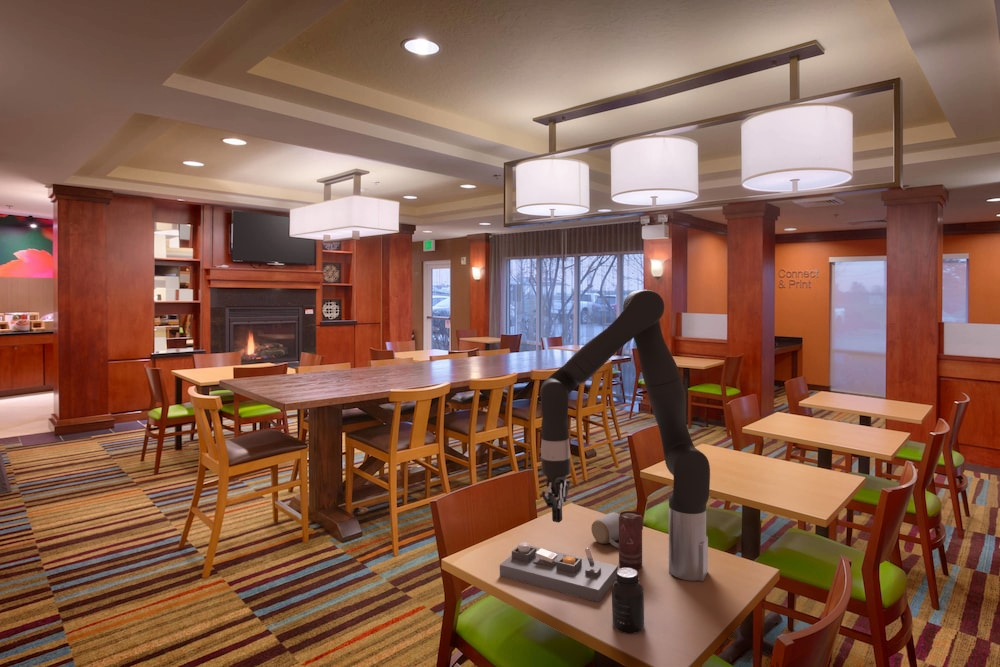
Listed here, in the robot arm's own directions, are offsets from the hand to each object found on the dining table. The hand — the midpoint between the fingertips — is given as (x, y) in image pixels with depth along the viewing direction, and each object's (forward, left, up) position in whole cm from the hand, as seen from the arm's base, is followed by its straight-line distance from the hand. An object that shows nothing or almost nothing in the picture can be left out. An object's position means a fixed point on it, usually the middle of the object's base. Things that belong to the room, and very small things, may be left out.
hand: (557, 521), depth 146 cm
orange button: (-4, +2, -10) cm, 11 cm away
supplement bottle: (-23, +15, -14) cm, 31 cm away
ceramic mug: (-6, -25, -14) cm, 30 cm away
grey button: (+9, +2, -9) cm, 13 cm away
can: (-15, -13, -14) cm, 25 cm away
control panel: (-1, +2, -14) cm, 14 cm away
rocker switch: (+3, +2, -10) cm, 10 cm away
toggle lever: (-10, +2, -9) cm, 14 cm away
